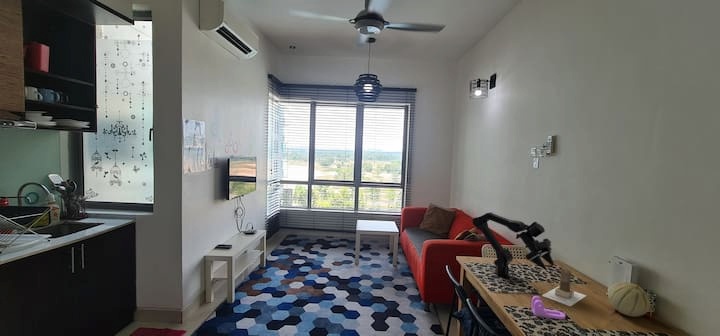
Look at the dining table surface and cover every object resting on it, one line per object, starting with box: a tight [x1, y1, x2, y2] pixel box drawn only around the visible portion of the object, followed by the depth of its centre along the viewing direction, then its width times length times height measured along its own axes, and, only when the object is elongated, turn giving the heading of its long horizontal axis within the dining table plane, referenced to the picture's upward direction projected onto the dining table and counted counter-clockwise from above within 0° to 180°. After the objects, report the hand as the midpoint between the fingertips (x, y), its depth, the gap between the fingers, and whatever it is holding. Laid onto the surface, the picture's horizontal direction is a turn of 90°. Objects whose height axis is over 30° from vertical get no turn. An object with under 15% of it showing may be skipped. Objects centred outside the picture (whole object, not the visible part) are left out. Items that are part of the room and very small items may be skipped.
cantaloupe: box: [607, 281, 651, 318], centre depth 144 cm, size 15×15×15 cm
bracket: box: [531, 295, 566, 321], centre depth 142 cm, size 13×6×7 cm, turn 73°
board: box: [541, 285, 587, 307], centre depth 160 cm, size 20×13×1 cm, turn 126°
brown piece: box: [554, 268, 575, 300], centre depth 159 cm, size 7×6×13 cm
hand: (549, 267), depth 165 cm, fingers open, 9 cm apart
